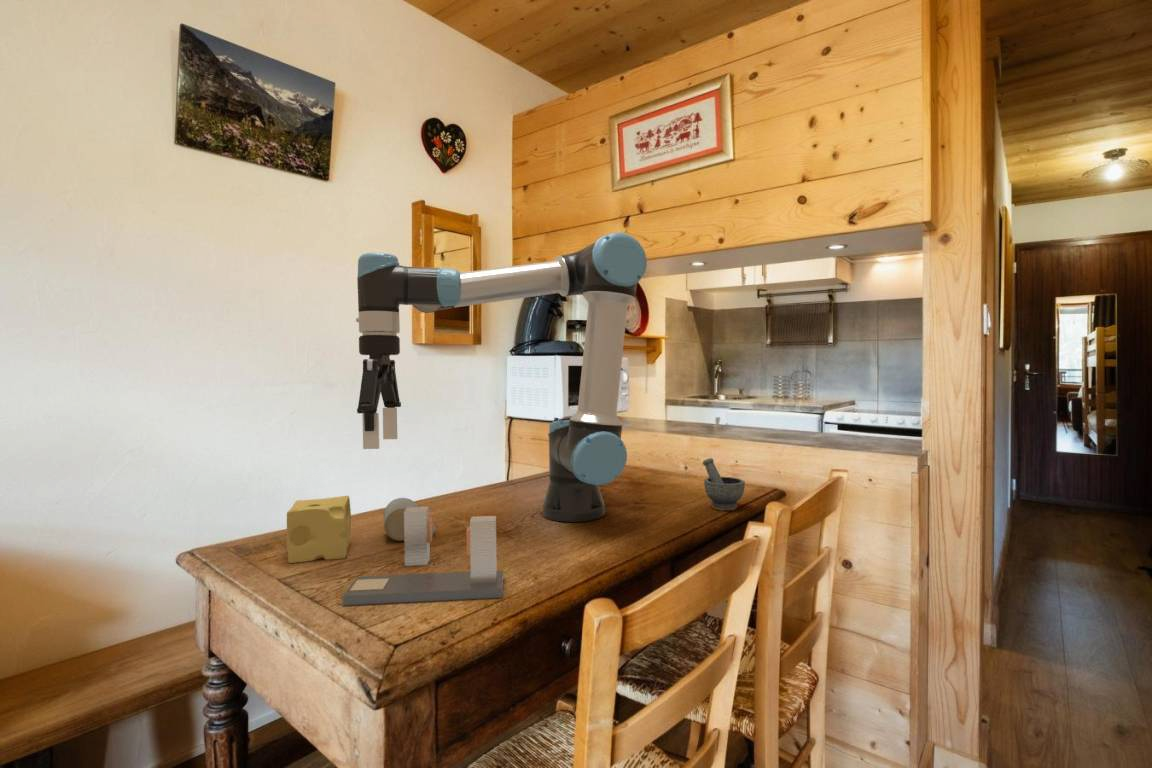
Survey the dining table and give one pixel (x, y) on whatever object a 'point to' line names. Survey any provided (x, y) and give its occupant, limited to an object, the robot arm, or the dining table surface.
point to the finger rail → (439, 576)
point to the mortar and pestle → (722, 488)
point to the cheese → (318, 529)
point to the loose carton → (417, 535)
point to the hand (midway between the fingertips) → (381, 443)
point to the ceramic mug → (397, 518)
